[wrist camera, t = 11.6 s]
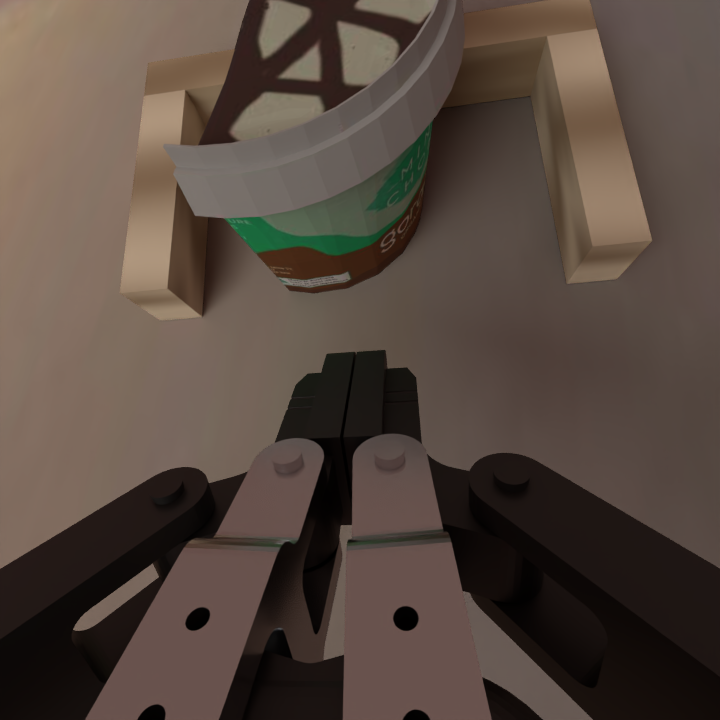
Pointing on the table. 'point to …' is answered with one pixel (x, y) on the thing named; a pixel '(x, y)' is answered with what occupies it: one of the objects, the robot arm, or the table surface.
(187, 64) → the wooden bridge piece
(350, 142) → the food container
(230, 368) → the table surface
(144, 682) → the robot arm
